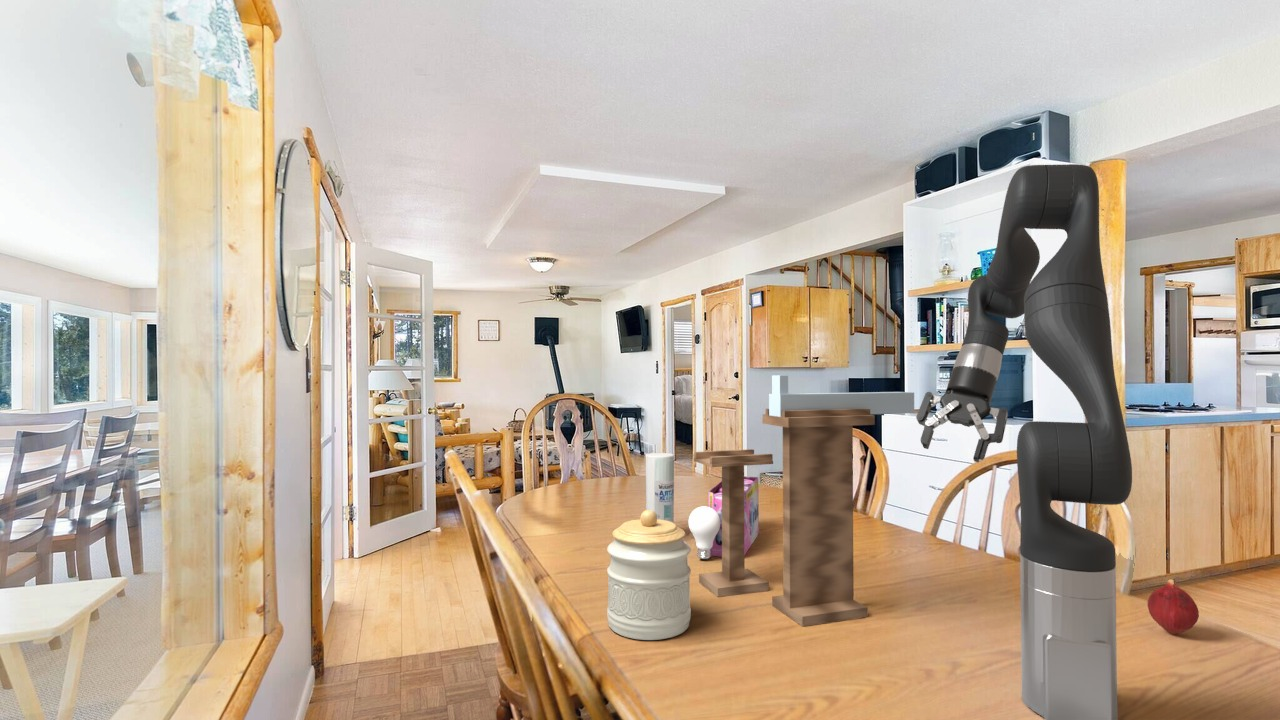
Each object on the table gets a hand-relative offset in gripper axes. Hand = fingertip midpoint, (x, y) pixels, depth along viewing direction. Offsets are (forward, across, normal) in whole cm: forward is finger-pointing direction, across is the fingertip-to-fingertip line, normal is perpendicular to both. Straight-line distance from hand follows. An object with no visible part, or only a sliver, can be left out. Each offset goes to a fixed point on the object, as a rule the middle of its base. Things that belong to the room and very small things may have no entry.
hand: (950, 454), depth 113 cm
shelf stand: (+34, -10, -11) cm, 37 cm away
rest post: (+37, -26, -8) cm, 46 cm away
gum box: (+29, -40, +16) cm, 52 cm away
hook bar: (+4, -13, -21) cm, 25 cm away
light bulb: (+35, -39, +2) cm, 52 cm away
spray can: (+36, -54, +8) cm, 65 cm away
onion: (+16, +34, +7) cm, 39 cm away
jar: (+47, -28, -29) cm, 62 cm away
